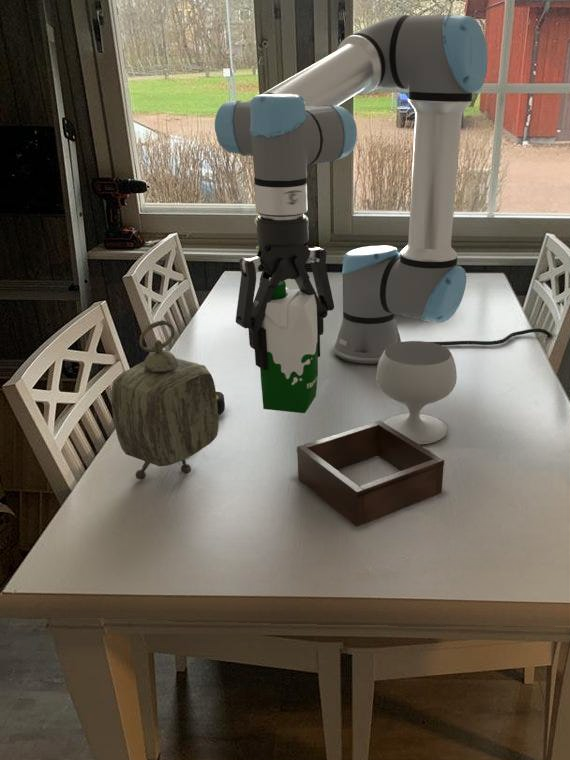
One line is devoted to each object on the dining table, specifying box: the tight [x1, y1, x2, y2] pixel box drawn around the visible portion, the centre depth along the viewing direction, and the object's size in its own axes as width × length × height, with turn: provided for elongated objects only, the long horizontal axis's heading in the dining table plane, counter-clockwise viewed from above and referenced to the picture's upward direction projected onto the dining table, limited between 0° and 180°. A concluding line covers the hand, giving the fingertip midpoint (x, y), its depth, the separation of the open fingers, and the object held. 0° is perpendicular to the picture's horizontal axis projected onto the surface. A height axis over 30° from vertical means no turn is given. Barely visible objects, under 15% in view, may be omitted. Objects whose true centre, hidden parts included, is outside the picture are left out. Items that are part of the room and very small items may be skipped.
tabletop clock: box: [110, 320, 219, 481], centre depth 113 cm, size 14×9×25 cm, turn 149°
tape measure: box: [216, 391, 226, 417], centre depth 137 cm, size 7×7×4 cm
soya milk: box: [253, 278, 319, 414], centre depth 116 cm, size 9×9×20 cm
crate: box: [296, 420, 445, 528], centre depth 114 cm, size 16×16×6 cm
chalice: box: [376, 340, 458, 445], centre depth 129 cm, size 14×14×15 cm
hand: (288, 360), depth 117 cm, fingers closed on soya milk, 9 cm apart
